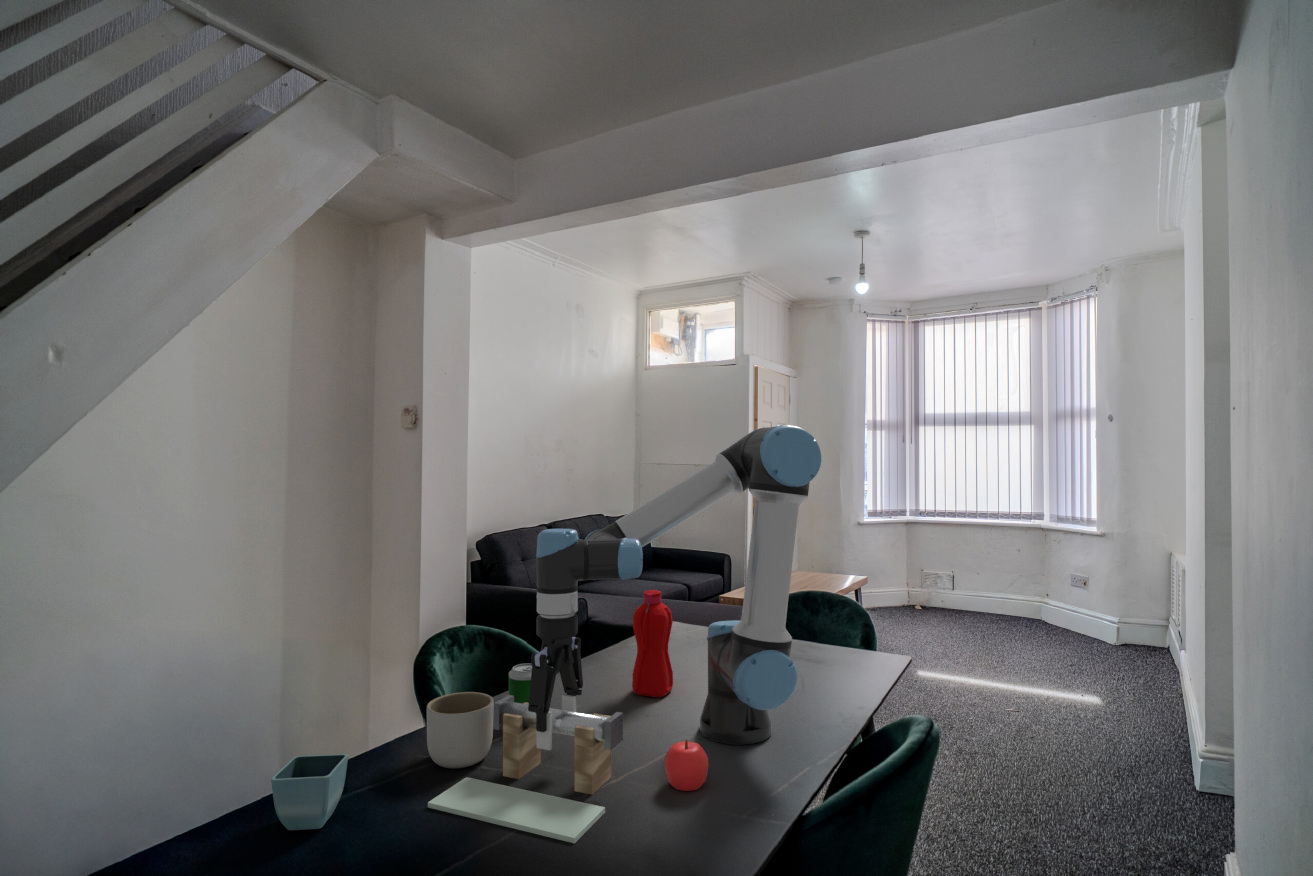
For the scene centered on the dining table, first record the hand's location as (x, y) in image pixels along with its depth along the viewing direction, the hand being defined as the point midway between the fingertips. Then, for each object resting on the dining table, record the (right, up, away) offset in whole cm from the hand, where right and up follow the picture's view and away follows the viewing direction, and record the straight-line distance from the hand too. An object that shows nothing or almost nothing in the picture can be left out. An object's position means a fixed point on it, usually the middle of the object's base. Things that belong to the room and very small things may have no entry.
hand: (556, 739), depth 127 cm
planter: (-20, -7, +7) cm, 22 cm away
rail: (0, +1, 0) cm, 1 cm away
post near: (+7, -7, -3) cm, 10 cm away
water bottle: (+17, -8, +45) cm, 49 cm away
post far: (-7, -7, +3) cm, 10 cm away
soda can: (-11, -8, +26) cm, 29 cm away
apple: (+23, -7, -4) cm, 25 cm away
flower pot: (-37, -7, -16) cm, 41 cm away
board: (-5, -6, -12) cm, 15 cm away
